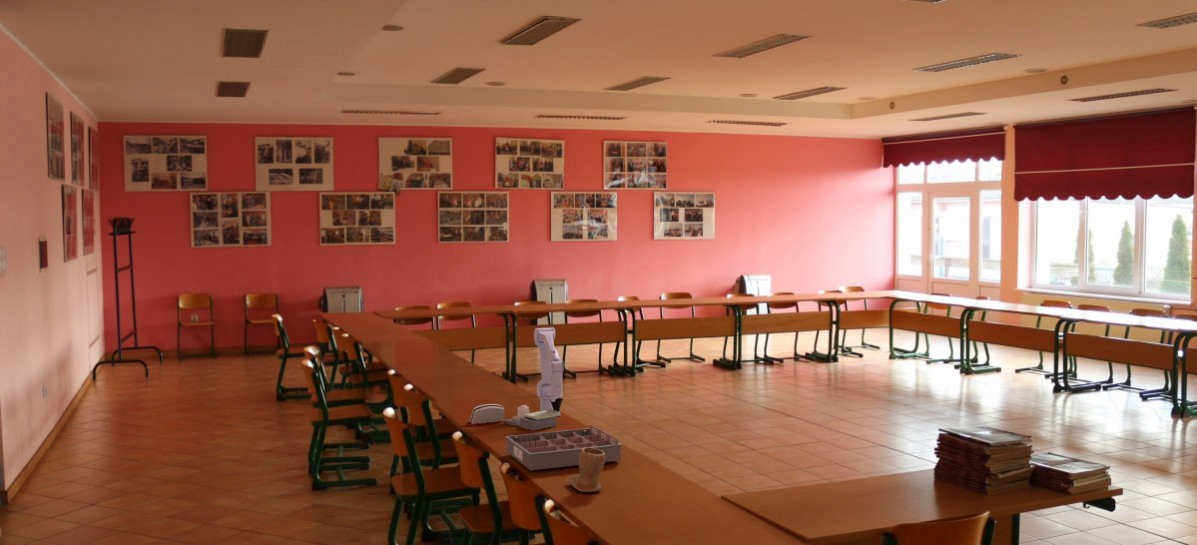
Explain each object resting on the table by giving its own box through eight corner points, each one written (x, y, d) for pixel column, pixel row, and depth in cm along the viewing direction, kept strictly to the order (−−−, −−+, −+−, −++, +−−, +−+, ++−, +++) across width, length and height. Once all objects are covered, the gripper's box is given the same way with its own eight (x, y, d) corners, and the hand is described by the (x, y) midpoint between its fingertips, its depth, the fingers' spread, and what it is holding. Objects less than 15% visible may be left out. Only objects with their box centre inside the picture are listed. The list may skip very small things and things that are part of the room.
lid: (547, 412, 455) (547, 408, 455) (560, 415, 448) (560, 411, 447) (524, 416, 445) (524, 412, 445) (537, 419, 438) (537, 416, 438)
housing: (527, 418, 462) (527, 409, 462) (556, 426, 446) (556, 416, 446) (504, 423, 453) (504, 413, 453) (533, 430, 437) (533, 421, 436)
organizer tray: (504, 455, 394) (504, 431, 393) (592, 445, 410) (592, 423, 409) (529, 474, 365) (529, 449, 364) (623, 463, 380) (623, 439, 380)
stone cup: (609, 492, 341) (609, 451, 340) (578, 495, 337) (578, 454, 336) (596, 481, 355) (596, 442, 354) (566, 484, 351) (566, 444, 350)
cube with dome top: (524, 418, 456) (524, 404, 456) (529, 419, 453) (529, 405, 453) (517, 419, 454) (517, 405, 453) (522, 421, 451) (522, 406, 450)
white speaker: (501, 418, 462) (503, 401, 459) (504, 423, 459) (506, 406, 455) (468, 421, 455) (470, 404, 452) (471, 427, 452) (473, 409, 448)
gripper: (552, 382, 459) (552, 410, 460) (544, 388, 445) (544, 416, 446) (566, 383, 458) (566, 410, 459) (558, 388, 444) (559, 417, 445)
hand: (556, 413), depth 452 cm, fingers closed
